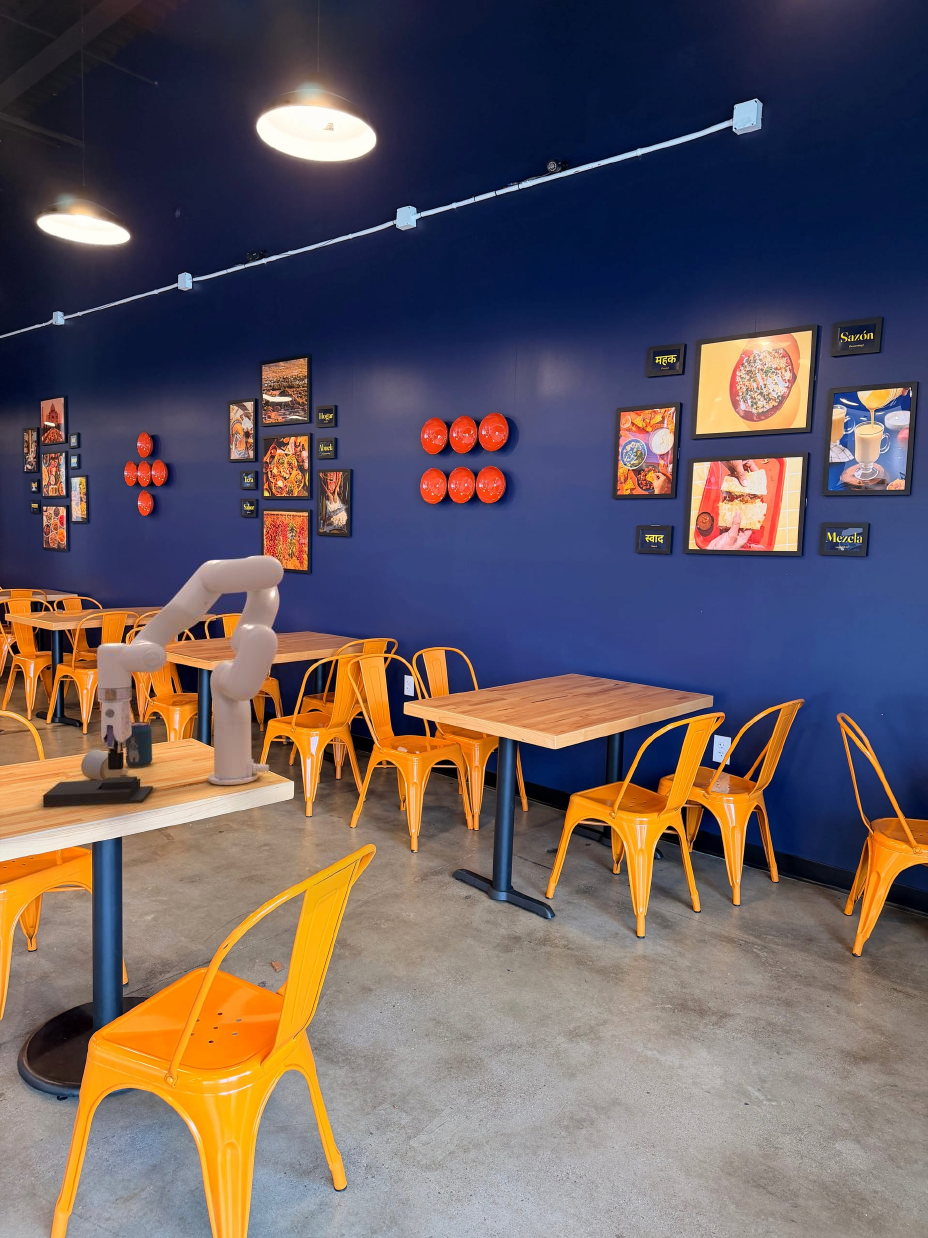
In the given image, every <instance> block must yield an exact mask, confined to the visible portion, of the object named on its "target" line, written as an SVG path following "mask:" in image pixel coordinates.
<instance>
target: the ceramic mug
mask: <svg viewBox="0 0 928 1238" xmlns="http://www.w3.org/2000/svg"><path fill="white" fill-rule="evenodd" d="M80 769H81V772H82V774H83V776H84V777H85V778H87V779H90V780H105V779H106V778H109V777H121V775H123V776H128V775H129V769H127V768H124V767H123V768H122V769H121V770H109V769H108V751H104V750H101V749H92V750H90V751H88V752H87V753H85V755H84V757H83V758H82V761H81V765H80Z"/></svg>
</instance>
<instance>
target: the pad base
mask: <svg viewBox="0 0 928 1238" xmlns="http://www.w3.org/2000/svg"><path fill="white" fill-rule="evenodd" d="M103 781H104V780H94V779H92V780H73V781H72V780H71V781H59V782H58V783H56V784H55V785H54V786H53V787H51V788H50V789H49V790H48V791H46V792H45V793H44V794H43V795H42V802H43V804H42V807H43V808H49V807H50V808H51V807H52V808H53V807H73V806H75V807H76V806H92V805H93V806H94V805H95V806H97V805H115V804H116V805H117V804H118V805H119V804H138V803H143V802H144V801H145V800H146V798H147V797H148V796H149V795H150V793H151V792H152V791H153V790H154V786H153V785H142V786H141V778H137V791H136V792H135V793H134V795H133V796H132V788H128V789H104V790H102V782H103Z"/></svg>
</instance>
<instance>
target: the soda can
mask: <svg viewBox="0 0 928 1238" xmlns="http://www.w3.org/2000/svg"><path fill="white" fill-rule="evenodd" d="M131 729H132V734H131V736H130V737H129V738H128V739H126V740H125V741H124V743H125V745H124V746H125V763H126V765H127V767H128V768H131V769H139V768H141V769H142V768H145V767H149V766H150V765H151V763H152V762H153V737H152V736H153V735H152V732H153V731H152V727H151V725H150V722H149V721H134V722H131Z"/></svg>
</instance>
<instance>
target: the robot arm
mask: <svg viewBox="0 0 928 1238" xmlns="http://www.w3.org/2000/svg"><path fill="white" fill-rule="evenodd" d="M284 573H285V572H284V566H283V564H282V562H280V560H279V559H278V558H276V557H275V556H272V555H251V556H248V557H244V558H234V559H212V560H207V561H206V562H204V563H203V564H201V565H200V566H199V567H198V569H197V570H196V571H195V572H194V573H193V575H192V576H191V577H190V578H189V579H188V581H186V582H185V584H184V585H183V587H182V588H181V589H180V590H179V591H178V592H177V593H176V594H175V595H174V597H172V599H171V600H170V601H169V602H168V603H167V604H166V605H164V607H163V608H162V609H161V610H160V611H159V612H157V613H156V614H155V615H154V616H153V617H152V618H151V619H150V620H149V621H148V622H147V623H146V624H145V625H144V626H143V628H141V630H140V631H139V632H138V633H137V634H136V635H135V637H134V638H133V640H131V642H130V643H129V644H128V643H125V642H110V643H109V642H108V643H107V642H106V643H103V644H100V645H98V647H97V650H96V659H97V660H96V664H97V666H96V667H97V668H96V669H97V702H98V703H101V710H100V714H101V716H100V718H101V720H100V734H101V736H100V737H101V742H102V743H104V744H106V749H107V753H108V769H109V770H121V769H122V768H123V769H124V767H125V764H124V763H125V762H124V761H125V759H124V757H125V756H124V755H125V754H124V753H125V752H124V746H125V745H124V743H125V740H126V739H128V738H129V737H130V736H131V734H132V729H131V723H132V714H131V704H130V701H132V699H133V697H132V695H133V694H132V689H133V688H132V673H145V674H147V673H148V674H152V673H156V672H158V671H160V670H162V669H163V668H164V667H165V665H166V664H167V659H168V656H167V655H168V654H167V652H166V650H165V648H166V647H167V646H168V645H169V643H170V642H171V641H172V640H173V639H175V638H176V637H177V636H178V635H180V634H181V633H183V632H185V631H187V630H188V629H191V628H192V627H194V626H196V625H197V624H198V623H199V622H200V621H201V620H202V619H203V617H204V616H205V615H206V614H207V612H209V610H210V609H211V608H212V607H213V605H214V604H215V603H216V602H217V601H218V600H219V598H220V597H221V596H222V595H223V594H236V593H246V601H245V604H244V608H243V610H242V612H241V614H240V617H239V619H238V621H237V624H236V625H235V628H234V630H233V632H232V634H231V636H230V641H229V642H230V648H231V651H232V652H233V653H234V654H235V658H234V660H233V659H228V660H227V659H226V660H224V661H221V662H219V663H218V664H217V665H216V666H215V667H214V668H213V669H212V672H211V674H210V681H209V683H210V693H211V698H212V699H211V701H212V713H213V714H212V715H213V764H214V765H213V767H214V769H213V771H214V772H212V773H210V774H209V775H208V782H209V783H210V784H213V785H217V786H218V785H219V786H234V785H235V786H236V785H243V784H247V783H251V782H254V781H256V780H258V778H259V777H258V776H259V773H269V772H270V765H269V764H265V763H255V761H254V760H255V759H254V758H252V710H251V709H252V706H251V701H250V700H252V699H253V698H255V697H256V696H257V695H258V694H259V693H260V692H261V689H262V687H263V686H264V684H265V681H266V679H267V677H268V674H269V672H270V671H271V668H272V665H273V662H274V660H275V658H276V655H277V653H278V647H279V640H278V639H279V638H278V636H277V634H276V632H275V631H274V630H273V625H274V622H275V620H276V617H277V614H278V611H279V607H280V593H279V589H278V585H279V584H280V583H281V582H282V580H283V577H284ZM265 771H267V772H265Z"/></svg>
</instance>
